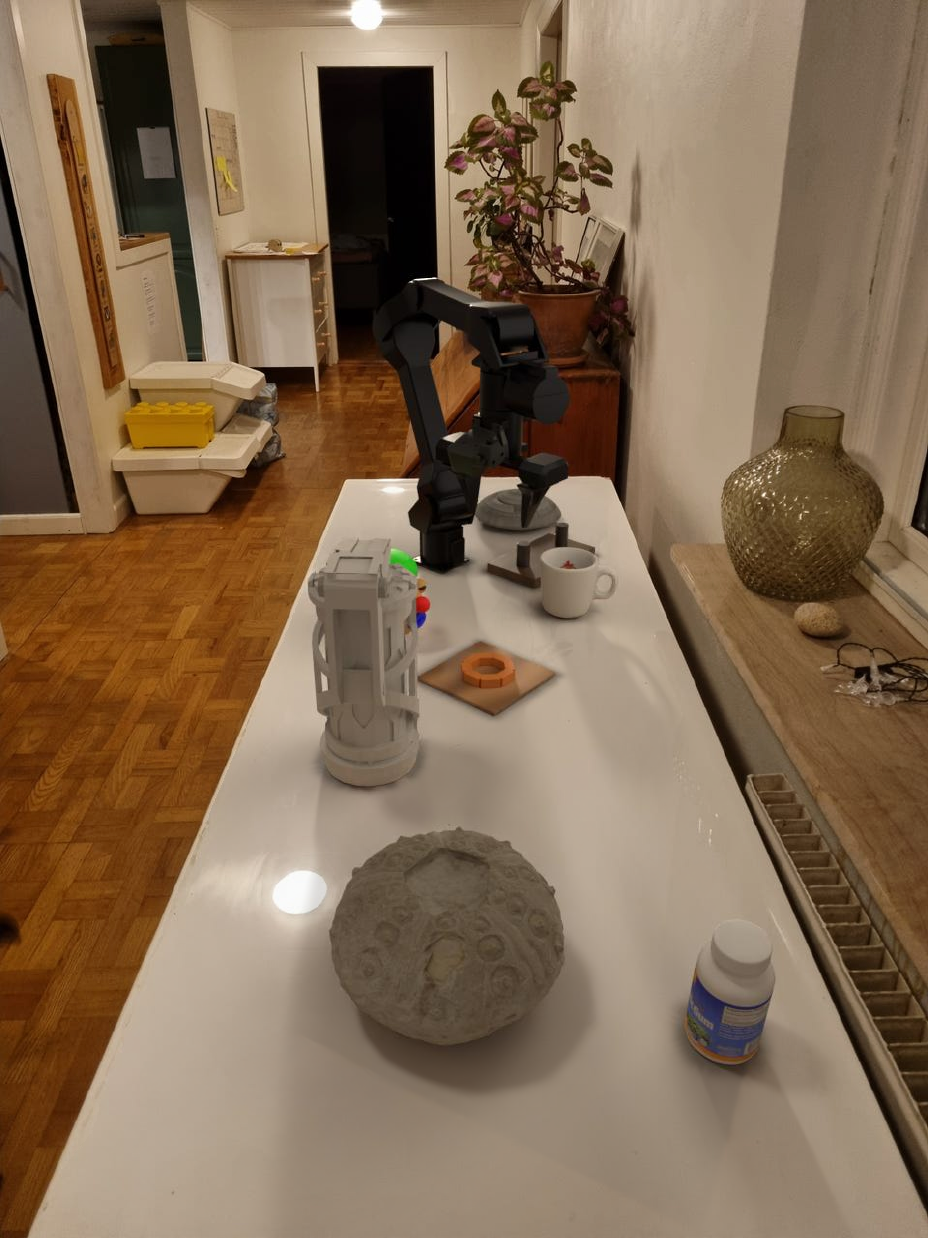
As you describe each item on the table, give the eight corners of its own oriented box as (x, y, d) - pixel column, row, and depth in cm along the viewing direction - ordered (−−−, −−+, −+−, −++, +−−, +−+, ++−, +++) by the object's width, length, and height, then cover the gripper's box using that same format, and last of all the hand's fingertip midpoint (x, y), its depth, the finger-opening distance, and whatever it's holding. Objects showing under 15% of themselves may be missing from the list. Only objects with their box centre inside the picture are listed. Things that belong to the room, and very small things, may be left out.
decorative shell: (597, 1041, 67) (608, 941, 62) (356, 1104, 63) (349, 1002, 58) (516, 874, 82) (520, 784, 78) (317, 915, 78) (309, 822, 73)
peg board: (486, 571, 140) (487, 541, 137) (548, 541, 151) (550, 512, 148) (534, 588, 135) (536, 557, 132) (594, 555, 145) (597, 526, 143)
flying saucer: (546, 542, 150) (548, 510, 148) (461, 529, 155) (461, 498, 152) (570, 511, 163) (572, 482, 160) (490, 500, 167) (491, 471, 165)
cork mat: (417, 679, 112) (417, 676, 112) (480, 643, 120) (480, 640, 120) (494, 715, 105) (494, 712, 105) (555, 675, 113) (555, 672, 113)
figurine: (335, 642, 120) (330, 558, 114) (374, 612, 127) (371, 532, 122) (410, 663, 115) (409, 576, 109) (447, 631, 123) (447, 548, 117)
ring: (450, 675, 112) (450, 666, 111) (483, 655, 116) (484, 647, 116) (491, 693, 108) (491, 685, 108) (524, 672, 113) (524, 664, 112)
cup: (613, 600, 131) (618, 549, 128) (615, 626, 124) (621, 572, 121) (537, 596, 132) (540, 545, 129) (536, 622, 125) (539, 568, 122)
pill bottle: (675, 1006, 70) (691, 912, 65) (744, 1002, 70) (765, 908, 66) (697, 1070, 65) (716, 973, 61) (771, 1065, 66) (795, 968, 61)
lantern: (329, 729, 102) (315, 518, 91) (423, 731, 102) (420, 520, 90) (308, 803, 91) (289, 573, 79) (414, 806, 90) (409, 576, 79)
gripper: (406, 405, 119) (408, 518, 126) (521, 433, 108) (516, 554, 116) (462, 390, 127) (461, 497, 134) (574, 414, 116) (566, 529, 123)
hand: (498, 519), depth 126 cm, fingers open, 9 cm apart
